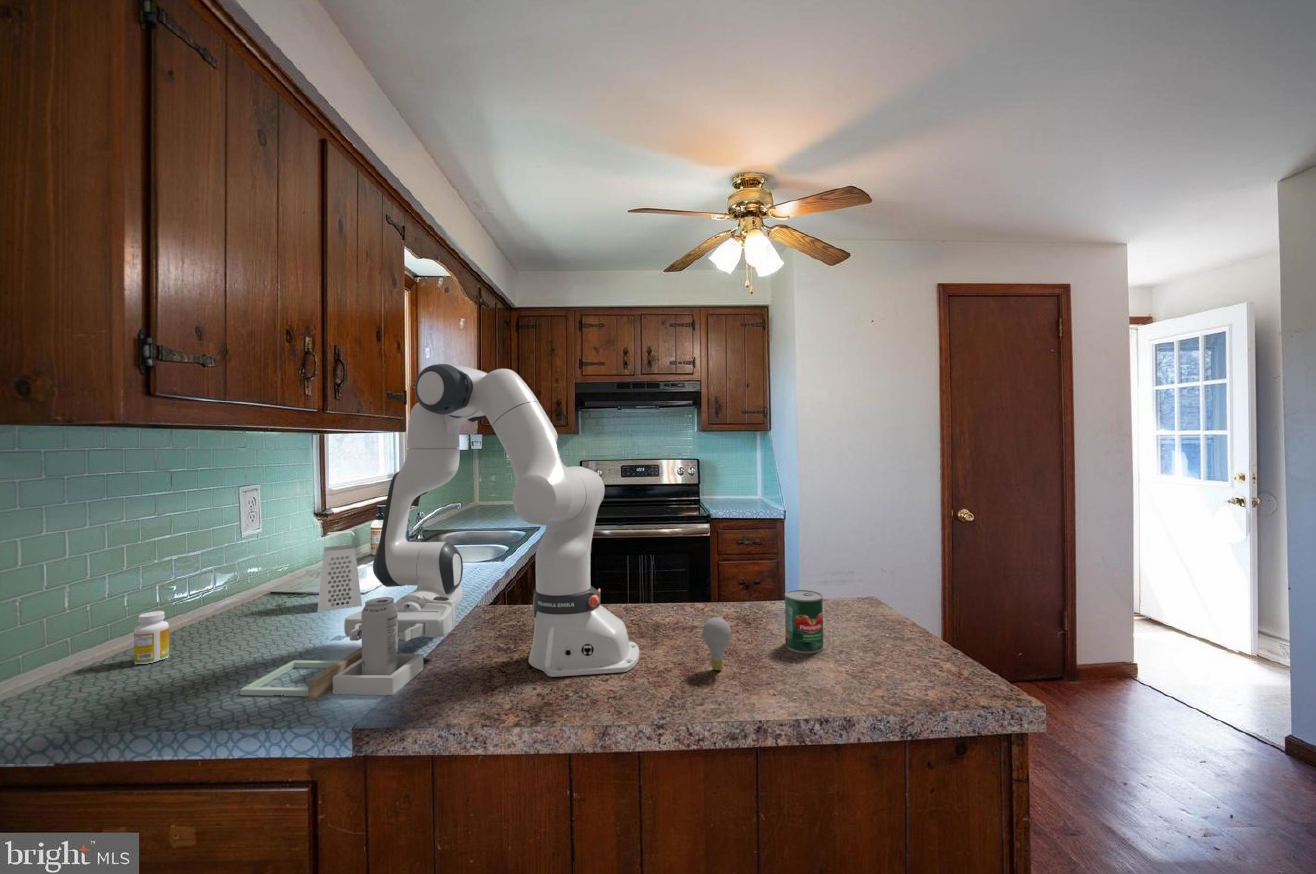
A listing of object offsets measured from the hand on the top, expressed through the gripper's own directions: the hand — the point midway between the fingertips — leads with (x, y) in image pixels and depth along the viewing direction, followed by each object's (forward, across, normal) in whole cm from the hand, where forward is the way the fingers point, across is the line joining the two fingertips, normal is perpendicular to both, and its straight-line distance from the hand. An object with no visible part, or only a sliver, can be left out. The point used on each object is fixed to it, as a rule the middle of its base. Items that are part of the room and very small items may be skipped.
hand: (377, 636), depth 102 cm
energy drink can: (-1, 0, +9) cm, 9 cm away
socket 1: (-1, -16, +8) cm, 18 cm away
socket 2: (-1, 0, +8) cm, 9 cm away
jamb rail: (-1, -8, +8) cm, 11 cm away
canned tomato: (-21, +82, +9) cm, 85 cm away
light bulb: (-8, +63, +9) cm, 64 cm away
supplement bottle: (-9, -54, +9) cm, 55 cm away
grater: (-49, -40, +9) cm, 64 cm away
